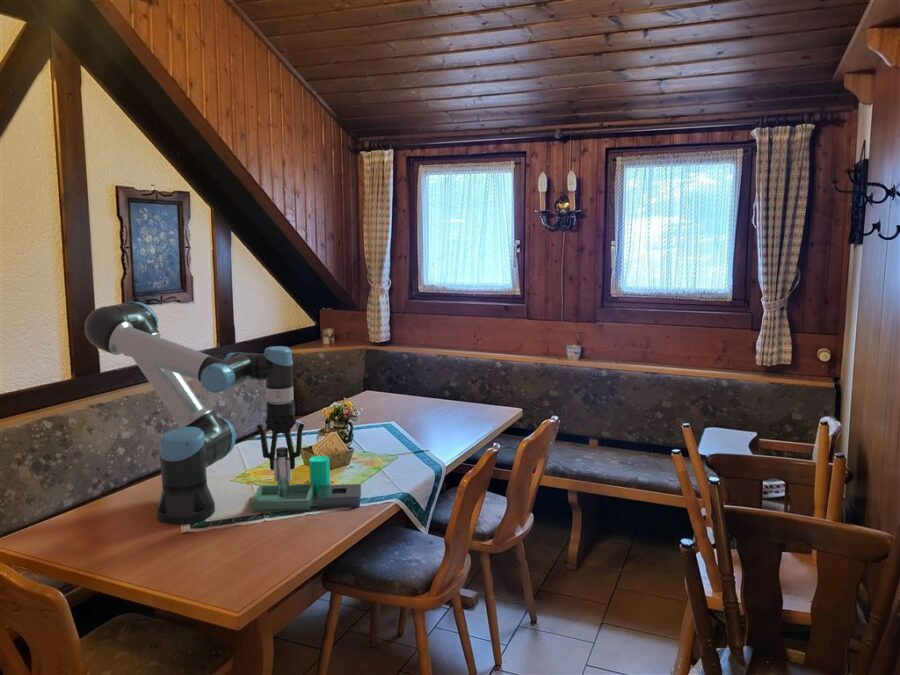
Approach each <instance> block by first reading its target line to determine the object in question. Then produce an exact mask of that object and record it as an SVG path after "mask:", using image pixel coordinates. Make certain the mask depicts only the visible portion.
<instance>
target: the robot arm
mask: <svg viewBox="0 0 900 675" xmlns="http://www.w3.org/2000/svg"><path fill="white" fill-rule="evenodd" d="M85 319H86V320H85V321H84V327H83V329H84V334H85V337H86V339H87V340H88V341H89V343H90V344H92V346H94V347H96V348H98V349H99V350H101V351H104V352H107V353H108V354H109V353H110V354H112V355H115V356H119V355H124V357H125V356H126V357H131V358H132V359H133V361H134V362H135V364H136V365H137V367H138V368H139V369H140V370H141V372H142V374H143V375H144V376H145V378H146V380H147V381H148V383H149V384H150V385H151V387H152V389H153V390H154V391H155V393H156V394H157V395H158V397H159V399H160V400H161V401H162V402H163V405H164V406H165V408H166V409H167V411H168V412H169V413H170V415H171V416H172V417H173V419H174V420H175V422H176V423H177V425H178V427H177V429H171V430H169V431H167V432H166V433H165V434H163V435H162V437H161V438H160V440H159V452H158V454H159V458H160V471H161V472H160V474H161V485H162V486H161V487H162V490H161V494H160V499H159V502H158V504H157V508H156V509H157V510H156V516H157V519H158V521H159V522H161V523H163V524H167V525H187V524H192V523H196V522H201V521H203V520H206V519H208V518H210V517H211V516H213V515H214V513H215V512H216V507H215V506H216V505H215V501H214V498H213V495H212V493H211V490H210V488H209V486H208V481H207V480H208V479H207V468H208V467H210V466H211V465H214V464H215V463H217V462H218V461H220V460H223V459H224V458H225V457H226V456H227V455H228V454H230V453H231V452H232V451H233V449H234V448H235V445H236V439H237V436H236V431H235V428H234V426H233V425H232V423H231V422H230V421H229V420H227V419H226V418H223V417H219V416H217V415H216V413H215V411H214V410H213V409H212V408H211V409H210V408H206V407H205V406H204V405H203V404H202V402H201V401H200V399H199V398H198V396H197V395H196V393H195V392H194V390H193V389H192V388H191V386H190V384H189V383H188V382H187V380H186V378H188V379H191V380H194V381H195V382H196V381H197V382H200V383H201V384H202V386H203V387H204V388H205V389H206V391H208V392H210V393H221V392H224V391H225V392H226V391H227V390H229V389H231V388H233V387H235V386H237V385H240V384H243V383H245V382H246V381H253V380H254V381H264V382H265V394H266V399H265V400H266V401H267V402H266V419H265V420H264V421H263V422H258V424H257V426H256V428H257V430H258V432H259V437H260V444H261V449H262V450H261V451H262V458H265V459H269V469H270V471H273V476H274V477H273V478H274V483H278V479H277V456H276V449H277V442H278V437H279V436H278V435H279V434H284V437H285V438H284V439H285V441H286V448H288V459H287V471H288V482H289V483H290V482H291V481H292V478H293V476H292V475H293V474H292V472H293V471H292V470H295V468H296V458H299V457H301V454H302V446H303V445H302V444H303V441H302V440H303V429H304V428H305V425H306V424H305V423H306V422H305V421H299V420H297V418H296V417H295V416H296V415H295V405H294V404H295V403H294V401H293V400H294V381H293V380H294V379H293V378H294V377H293V376H294V375H293V374H294V372H293V370H294V369H293V367H294V366H293V365H294V361H293V354H292V350H291V348H290V347H288V346H285V345H283V346H281V345H278V346H273V345H272V346H269V347H266V348H265V349H264V352H263V353H255V352H254V353H253V352H251V353H250V352H241V351H238V352H230V353H227V354H226V356H225V357H224V358H223V359H221V358H218V357H215V356H212V355H209V354H206V353H204V352H201V351H198V350H196V349H193V348H190V347H187V346H184V345H182V344H179V343H176V342H173V341H171V340H168V339H165V338H163V337H161V333H160V331H159V330H158V329H159V325H158V323H159V319H158V316H157V314H156V312H155V311H154V309H153V308H151V307H150V306H149V305H147V304H146V303H143V302H138V301H136V302H135V301H127V302H122V303H119V304H114V305H113V304H112V305H108V306H106V305H105V306H101V307H98V308H96V309H94V310H93V311H91V312H90V313H89V315H88V316H87V317H86V318H85ZM185 377H186V378H185ZM294 425H295V429H296V430H297V432H296V442H295V444H296V445H295V446H296V447H294V443H293V438H292V433H291V430H292V429H293V427H294ZM267 428H269V429H270V430H271V432H272V433H271V444H270V450H269V446H268V438H267V432H266V430H267ZM269 451H270V452H269Z"/></svg>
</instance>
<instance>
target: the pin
mask: <svg viewBox="0 0 900 675" xmlns="http://www.w3.org/2000/svg"><path fill="white" fill-rule="evenodd" d="M275 456H276V457H277V479H278V481H277V485H278V496H279V497H288V496H289V484H290V482H288V471H287V459H288V457H289V452H288V447H287V446H281V447H276V452H275Z"/></svg>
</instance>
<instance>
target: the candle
mask: <svg viewBox="0 0 900 675" xmlns="http://www.w3.org/2000/svg"><path fill="white" fill-rule="evenodd" d="M308 460H309V461H308V463H309V482H310V483H309V484H314V493H315V494H316V495H318V492H319V488H320V485H331V473H330V472H331V471H330V470H331V469H330V458H329V456H328V455H327V456H326V455H319V454H318V455H314V456H312V457H310V458H309V459H308ZM315 494H314V495H315Z"/></svg>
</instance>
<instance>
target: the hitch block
mask: <svg viewBox="0 0 900 675" xmlns="http://www.w3.org/2000/svg"><path fill="white" fill-rule="evenodd" d="M361 497H362V484H361V483H355V484H354V483H353V484H350V483H349V484H330V485H320V488H319V492H318V494H317V497H316V503H317V504H316V507H317V509H326V508H331V509H332V508H355V507H356V508H359V507H361Z"/></svg>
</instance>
